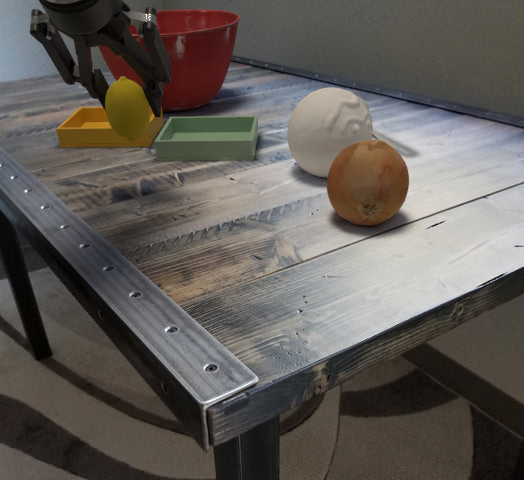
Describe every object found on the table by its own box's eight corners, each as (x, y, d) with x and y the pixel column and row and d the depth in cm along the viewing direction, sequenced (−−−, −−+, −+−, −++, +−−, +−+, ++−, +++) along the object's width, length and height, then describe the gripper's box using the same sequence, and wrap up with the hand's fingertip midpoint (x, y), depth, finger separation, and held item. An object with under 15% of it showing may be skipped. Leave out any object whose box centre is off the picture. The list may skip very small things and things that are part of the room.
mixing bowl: (122, 134, 104) (106, 37, 95) (92, 98, 125) (76, 16, 116) (265, 112, 113) (263, 22, 104) (214, 82, 134) (209, 4, 125)
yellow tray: (60, 150, 98) (55, 128, 96) (84, 126, 109) (80, 107, 107) (149, 149, 97) (146, 127, 95) (164, 125, 108) (161, 106, 106)
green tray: (157, 163, 92) (154, 141, 89) (172, 137, 102) (169, 116, 100) (253, 162, 91) (252, 140, 89) (258, 136, 101) (257, 115, 99)
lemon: (162, 141, 76) (153, 76, 71) (125, 152, 73) (114, 84, 68) (139, 132, 79) (130, 69, 75) (103, 142, 77) (91, 76, 72)
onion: (390, 203, 77) (399, 125, 71) (415, 236, 69) (427, 151, 63) (318, 208, 76) (321, 130, 70) (335, 242, 68) (339, 157, 62)
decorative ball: (335, 197, 79) (340, 105, 72) (270, 177, 86) (269, 91, 78) (385, 172, 86) (393, 86, 79) (321, 155, 92) (324, 74, 85)
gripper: (-31, 10, 54) (65, 134, 77) (164, 7, 53) (203, 134, 76) (-24, -62, 55) (69, 82, 78) (168, -66, 54) (205, 81, 77)
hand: (135, 107), depth 77 cm, fingers closed on lemon, 5 cm apart
